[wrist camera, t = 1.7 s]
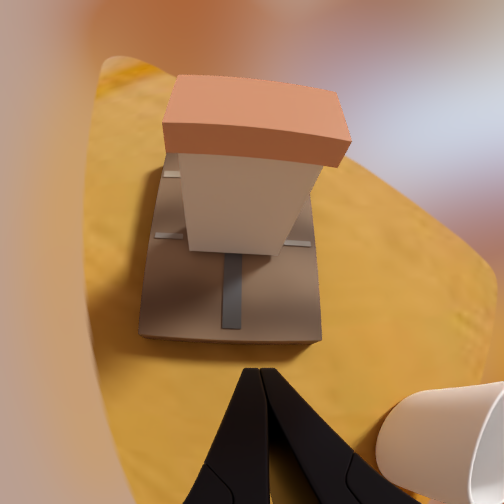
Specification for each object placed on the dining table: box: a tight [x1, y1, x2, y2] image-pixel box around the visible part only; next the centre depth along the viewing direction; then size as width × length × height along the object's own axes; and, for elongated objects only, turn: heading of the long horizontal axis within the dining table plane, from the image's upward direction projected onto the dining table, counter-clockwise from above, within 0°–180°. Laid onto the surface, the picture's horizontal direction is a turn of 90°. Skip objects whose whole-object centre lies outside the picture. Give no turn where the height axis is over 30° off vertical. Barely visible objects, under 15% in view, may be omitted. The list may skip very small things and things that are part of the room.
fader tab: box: [162, 75, 352, 256], centre depth 16 cm, size 3×7×12 cm, turn 90°
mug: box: [376, 381, 504, 504], centre depth 13 cm, size 9×12×11 cm
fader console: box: [138, 153, 322, 344], centre depth 22 cm, size 16×12×2 cm
